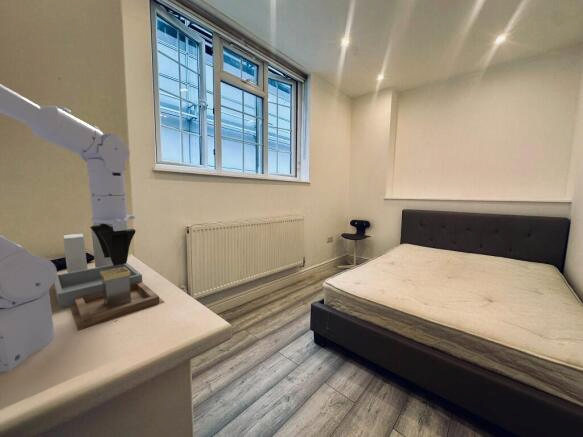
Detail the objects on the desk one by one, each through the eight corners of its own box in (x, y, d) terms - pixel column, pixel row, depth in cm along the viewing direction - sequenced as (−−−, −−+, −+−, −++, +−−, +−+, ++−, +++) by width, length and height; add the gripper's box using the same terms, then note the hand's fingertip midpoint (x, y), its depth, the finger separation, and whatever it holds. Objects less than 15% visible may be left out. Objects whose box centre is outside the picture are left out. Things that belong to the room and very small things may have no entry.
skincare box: (67, 275, 68) (62, 235, 67) (86, 271, 71) (82, 233, 70) (68, 281, 64) (63, 238, 63) (88, 277, 67) (84, 236, 66)
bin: (143, 290, 59) (141, 274, 58) (59, 312, 48) (57, 294, 47) (126, 275, 69) (125, 262, 68) (54, 291, 58) (52, 275, 57)
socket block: (165, 306, 51) (164, 296, 50) (78, 335, 40) (77, 323, 40) (144, 288, 60) (143, 279, 60) (69, 308, 50) (68, 297, 49)
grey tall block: (132, 302, 50) (130, 271, 49) (107, 310, 47) (103, 276, 46) (127, 296, 53) (124, 266, 52) (102, 303, 50) (99, 271, 49)
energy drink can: (109, 270, 72) (104, 222, 70) (90, 270, 72) (85, 222, 71) (123, 264, 78) (119, 220, 76) (105, 264, 78) (101, 220, 77)
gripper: (142, 196, 46) (148, 263, 47) (123, 194, 55) (128, 250, 57) (96, 197, 40) (104, 272, 42) (83, 194, 50) (90, 256, 52)
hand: (115, 260), depth 49 cm, fingers open, 7 cm apart
